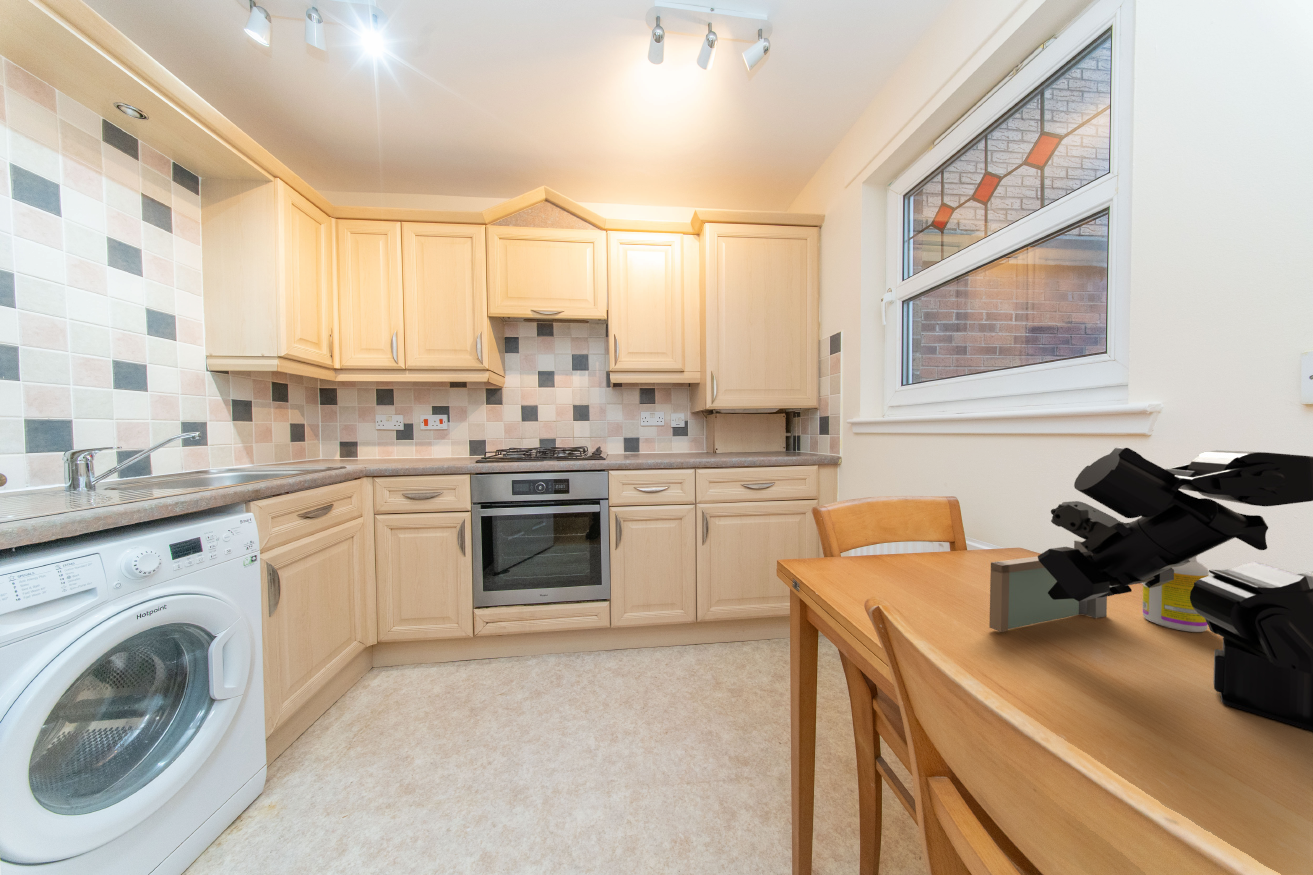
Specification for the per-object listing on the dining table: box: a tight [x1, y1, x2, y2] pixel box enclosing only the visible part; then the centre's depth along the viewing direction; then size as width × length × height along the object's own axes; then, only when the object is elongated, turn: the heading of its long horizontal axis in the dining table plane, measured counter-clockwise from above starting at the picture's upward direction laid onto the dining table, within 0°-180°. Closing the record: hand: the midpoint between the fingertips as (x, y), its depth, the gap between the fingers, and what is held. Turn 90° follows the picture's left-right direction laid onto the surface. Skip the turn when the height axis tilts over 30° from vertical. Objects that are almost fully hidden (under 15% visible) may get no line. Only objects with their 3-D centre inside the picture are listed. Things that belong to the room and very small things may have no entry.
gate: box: [988, 555, 1087, 633], centre depth 68 cm, size 21×2×10 cm, turn 109°
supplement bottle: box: [1142, 555, 1210, 633], centre depth 68 cm, size 7×7×13 cm
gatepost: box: [1073, 539, 1108, 619], centre depth 72 cm, size 3×3×12 cm
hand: (1051, 595), depth 62 cm, fingers closed
